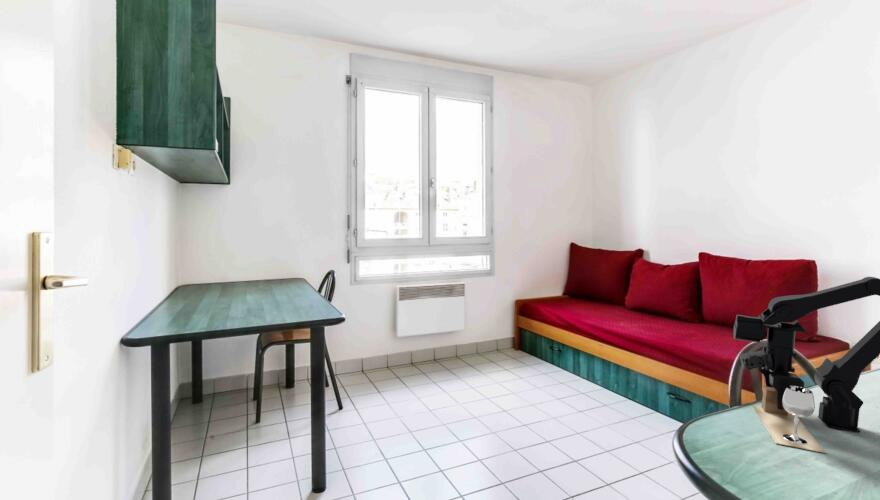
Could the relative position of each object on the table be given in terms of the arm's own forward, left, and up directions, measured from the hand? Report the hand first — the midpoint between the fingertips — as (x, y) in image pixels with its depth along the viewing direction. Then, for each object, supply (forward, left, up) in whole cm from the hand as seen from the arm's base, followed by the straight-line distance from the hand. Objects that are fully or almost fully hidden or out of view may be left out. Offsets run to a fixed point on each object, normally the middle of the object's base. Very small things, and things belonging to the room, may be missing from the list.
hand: (774, 402), depth 115 cm
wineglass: (0, +16, -3) cm, 16 cm away
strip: (0, +9, -3) cm, 9 cm away
